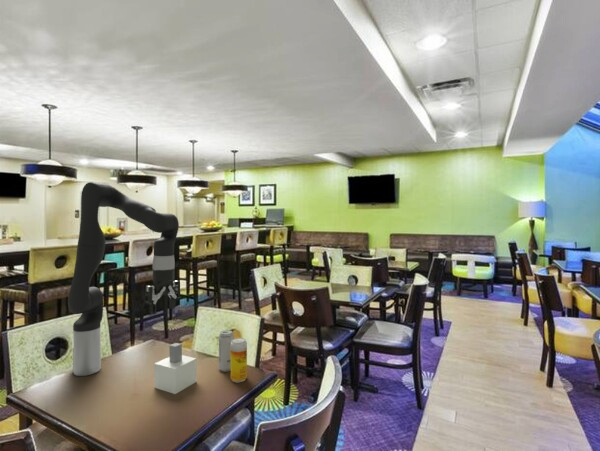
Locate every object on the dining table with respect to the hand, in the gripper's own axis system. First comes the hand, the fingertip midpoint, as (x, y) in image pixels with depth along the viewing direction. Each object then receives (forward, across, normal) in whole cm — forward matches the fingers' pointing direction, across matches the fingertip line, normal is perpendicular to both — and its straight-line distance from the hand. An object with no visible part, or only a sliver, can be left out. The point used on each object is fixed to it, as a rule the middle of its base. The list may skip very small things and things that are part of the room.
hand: (162, 311), depth 127 cm
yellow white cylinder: (+26, -15, +24) cm, 39 cm away
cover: (+27, -1, +6) cm, 27 cm away
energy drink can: (+26, -20, +14) cm, 36 cm away
